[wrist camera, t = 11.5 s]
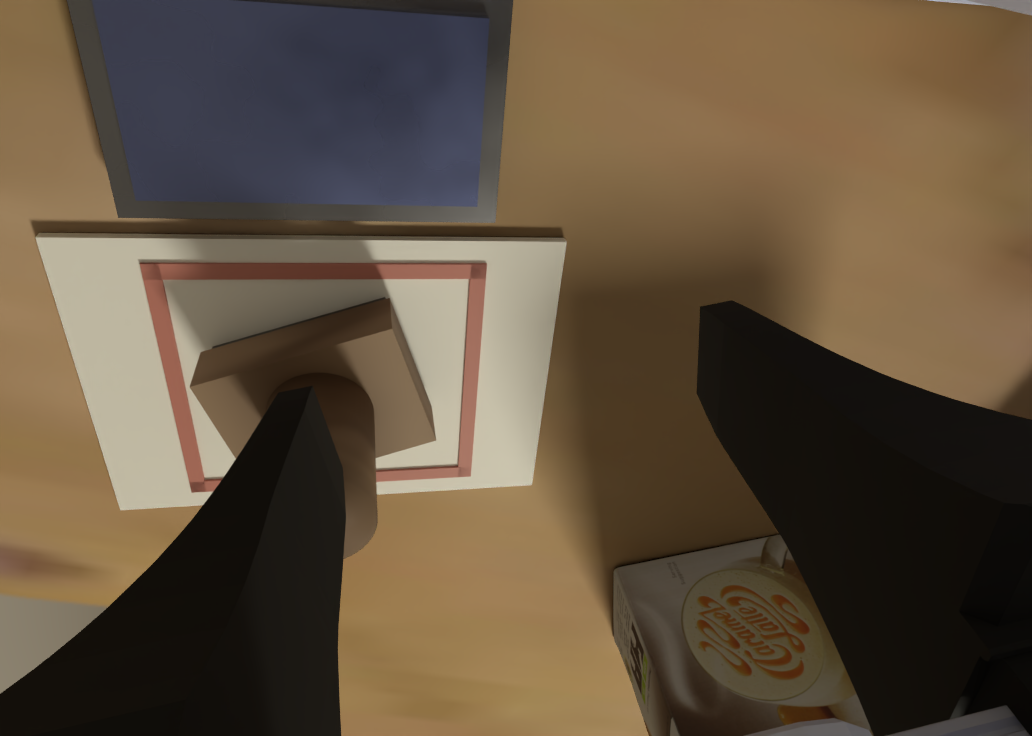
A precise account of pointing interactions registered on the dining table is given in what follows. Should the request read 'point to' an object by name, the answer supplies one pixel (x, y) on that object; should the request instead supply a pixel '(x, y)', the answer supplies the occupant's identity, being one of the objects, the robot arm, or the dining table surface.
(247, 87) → the ink pad
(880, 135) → the dining table surface
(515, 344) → the sheet
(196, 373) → the stamp
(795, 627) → the coffee box
